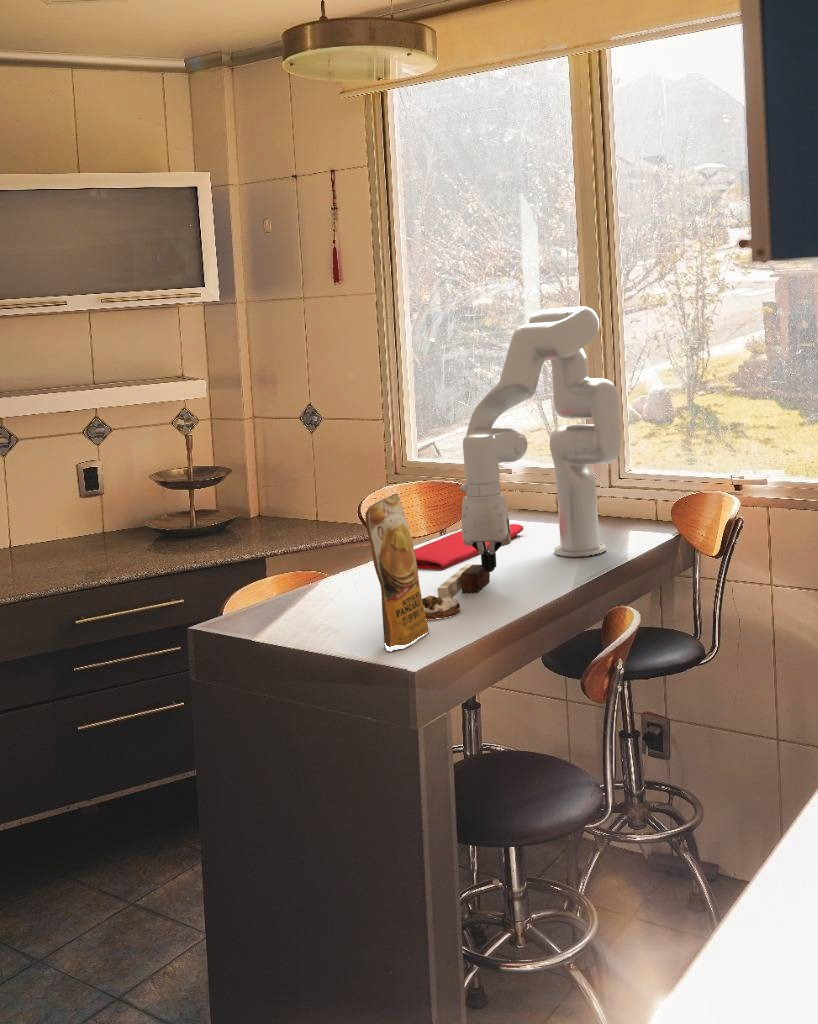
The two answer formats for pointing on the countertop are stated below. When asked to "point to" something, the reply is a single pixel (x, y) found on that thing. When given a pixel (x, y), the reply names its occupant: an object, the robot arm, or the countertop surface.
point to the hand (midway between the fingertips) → (489, 570)
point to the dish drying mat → (450, 551)
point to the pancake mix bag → (396, 572)
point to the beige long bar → (452, 584)
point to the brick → (474, 579)
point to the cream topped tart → (440, 607)
